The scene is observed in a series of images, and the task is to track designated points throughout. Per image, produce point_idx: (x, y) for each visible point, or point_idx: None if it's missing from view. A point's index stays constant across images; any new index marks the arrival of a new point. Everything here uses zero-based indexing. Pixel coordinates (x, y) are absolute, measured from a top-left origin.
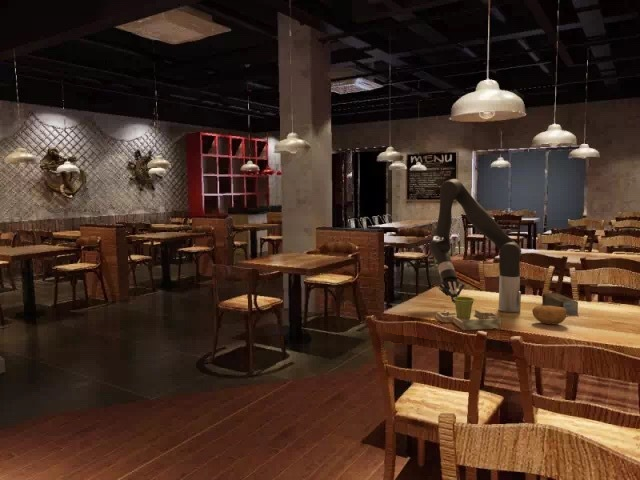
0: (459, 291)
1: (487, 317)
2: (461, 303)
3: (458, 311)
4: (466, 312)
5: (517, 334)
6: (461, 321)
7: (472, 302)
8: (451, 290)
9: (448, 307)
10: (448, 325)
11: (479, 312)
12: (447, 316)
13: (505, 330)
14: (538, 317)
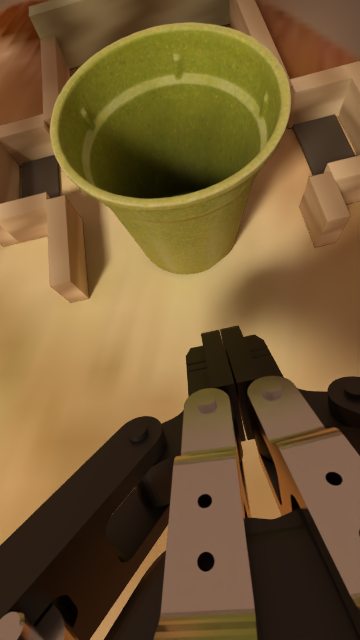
0: (127, 445)
1: None
2: (210, 66)
3: (231, 166)
4: (172, 156)
5: (24, 11)
6: (246, 4)
7: (96, 99)
8: (301, 433)
9: None
10: (314, 55)
11: (67, 212)
12: (328, 73)
13: None
14: None
